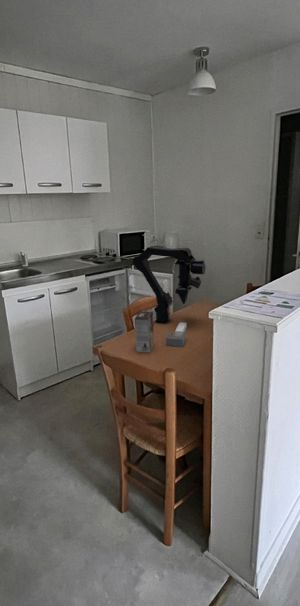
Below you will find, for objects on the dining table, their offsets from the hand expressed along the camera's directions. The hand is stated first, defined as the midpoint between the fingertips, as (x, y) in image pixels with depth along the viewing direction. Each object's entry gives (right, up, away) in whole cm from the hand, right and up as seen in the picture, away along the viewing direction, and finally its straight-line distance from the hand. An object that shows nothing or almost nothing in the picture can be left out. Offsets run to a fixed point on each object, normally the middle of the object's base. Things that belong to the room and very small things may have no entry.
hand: (184, 302), depth 185 cm
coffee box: (-20, -21, -24) cm, 37 cm away
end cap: (-6, -18, -18) cm, 26 cm away
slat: (-2, -15, -6) cm, 17 cm away
